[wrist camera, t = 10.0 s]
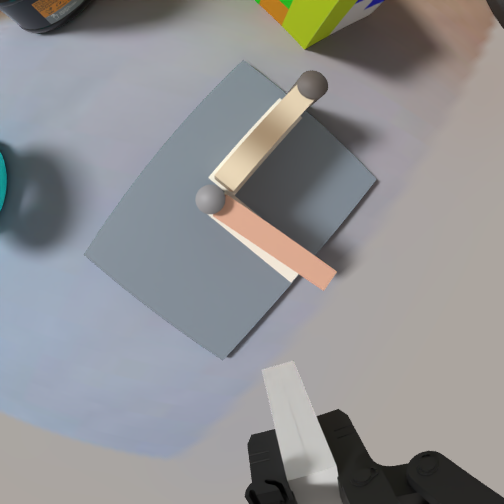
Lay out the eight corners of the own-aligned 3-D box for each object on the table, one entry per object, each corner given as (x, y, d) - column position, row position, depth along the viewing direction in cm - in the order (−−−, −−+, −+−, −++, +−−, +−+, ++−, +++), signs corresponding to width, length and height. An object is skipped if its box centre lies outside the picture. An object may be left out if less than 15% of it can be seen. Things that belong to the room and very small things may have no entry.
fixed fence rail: (289, 92, 25) (311, 65, 18) (307, 107, 25) (333, 84, 19) (212, 177, 25) (211, 172, 19) (231, 193, 26) (236, 193, 19)
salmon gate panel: (196, 200, 25) (189, 203, 19) (209, 182, 25) (206, 178, 19) (300, 270, 27) (325, 294, 21) (312, 253, 27) (341, 272, 21)
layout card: (242, 63, 24) (243, 59, 24) (372, 179, 28) (377, 179, 27) (87, 253, 26) (83, 254, 25) (222, 356, 29) (222, 360, 28)
